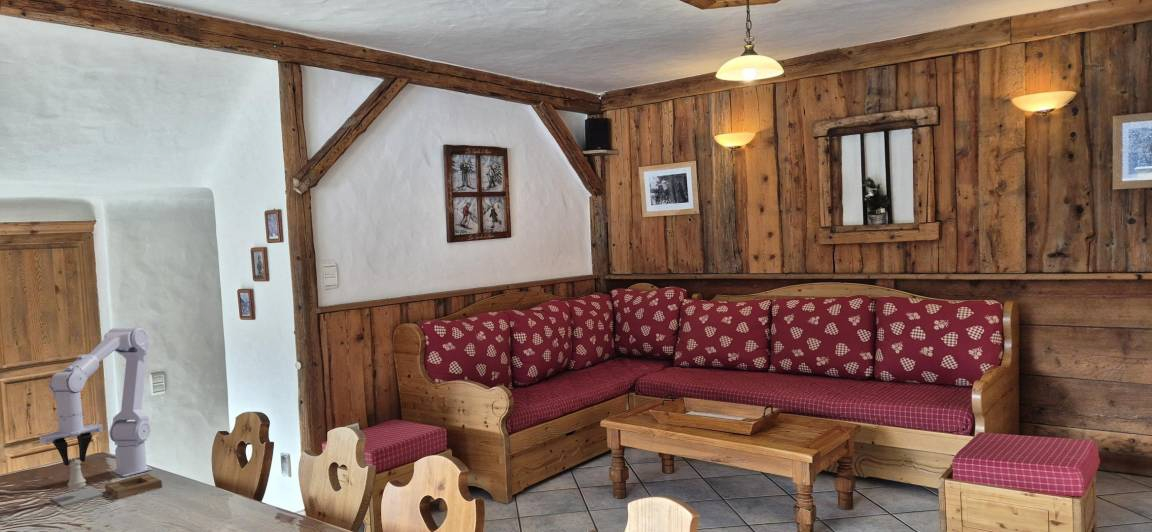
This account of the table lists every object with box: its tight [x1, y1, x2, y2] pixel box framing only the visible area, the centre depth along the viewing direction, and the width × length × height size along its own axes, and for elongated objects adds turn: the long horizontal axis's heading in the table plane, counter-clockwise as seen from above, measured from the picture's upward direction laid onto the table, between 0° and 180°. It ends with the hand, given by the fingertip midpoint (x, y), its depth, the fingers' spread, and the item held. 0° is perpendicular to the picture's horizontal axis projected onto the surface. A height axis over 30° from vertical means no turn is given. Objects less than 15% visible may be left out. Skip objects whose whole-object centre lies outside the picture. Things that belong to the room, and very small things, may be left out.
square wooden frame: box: [104, 473, 163, 500], centre depth 214 cm, size 11×11×2 cm
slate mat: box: [50, 486, 104, 508], centre depth 210 cm, size 10×10×1 cm
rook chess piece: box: [66, 457, 87, 491], centre depth 209 cm, size 4×4×8 cm
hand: (74, 462), depth 210 cm, fingers closed on rook chess piece, 3 cm apart
